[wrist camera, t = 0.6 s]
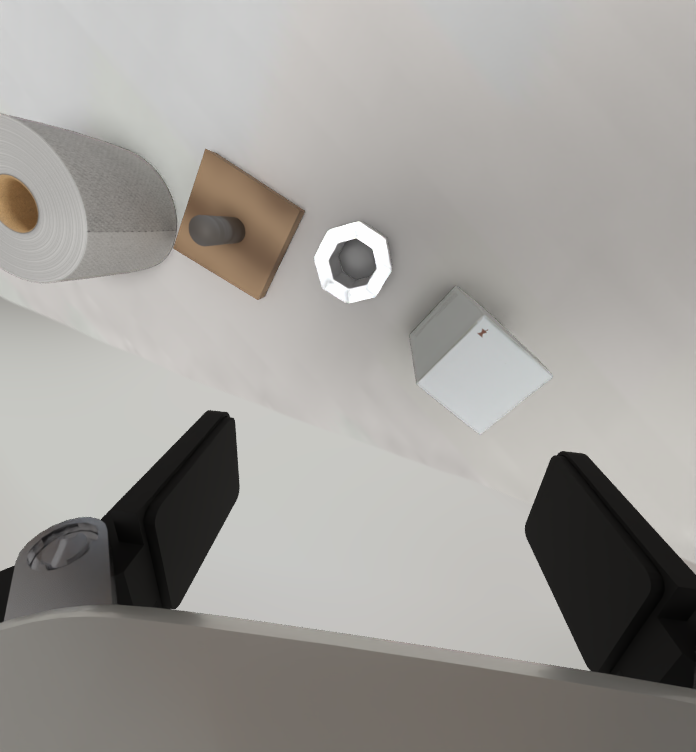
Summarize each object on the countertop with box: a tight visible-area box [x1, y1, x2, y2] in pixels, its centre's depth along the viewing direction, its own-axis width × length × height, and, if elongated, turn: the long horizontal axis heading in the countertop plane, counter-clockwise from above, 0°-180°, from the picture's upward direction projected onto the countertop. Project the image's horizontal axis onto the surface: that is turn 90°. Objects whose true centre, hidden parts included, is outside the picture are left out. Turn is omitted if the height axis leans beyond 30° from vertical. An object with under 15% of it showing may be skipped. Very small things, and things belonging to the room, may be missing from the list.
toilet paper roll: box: [0, 113, 177, 283], centre depth 31 cm, size 12×12×12 cm
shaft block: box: [173, 149, 305, 300], centre depth 32 cm, size 10×10×8 cm
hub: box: [314, 221, 392, 303], centre depth 32 cm, size 6×6×6 cm
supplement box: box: [409, 286, 553, 435], centre depth 31 cm, size 7×7×13 cm
